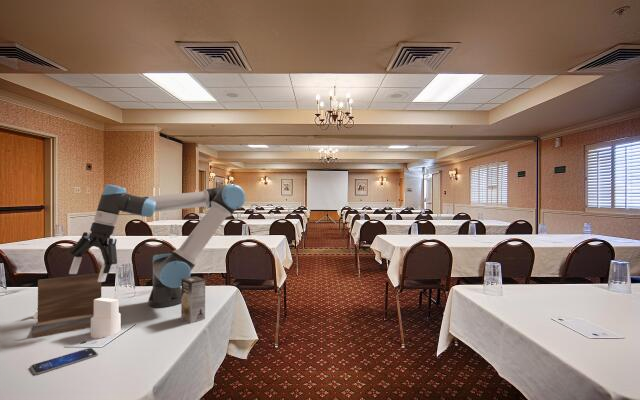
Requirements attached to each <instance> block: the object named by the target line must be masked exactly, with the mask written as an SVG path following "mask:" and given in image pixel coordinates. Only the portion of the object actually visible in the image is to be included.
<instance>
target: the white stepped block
mask: <svg viewBox="0 0 640 400" xmlns="http://www.w3.org/2000/svg"><path fill="white" fill-rule="evenodd" d="M121 317H122V314H121V313H120V312H119V299H117V298H107V297H101V298H98V299H94V317H92V318H91V327H90V337H91V338H92V337H94V338H93V339H102V338H101V337H105V338H107V337H106V336H110V337H112V336H111V335H113V336H115V335H114V334H116V333H118V332H119V331H120V330H121V329H122V328H121V327H122V326H121V325H122V323H121V319H122V318H121ZM120 332H121V331H120ZM120 332H119V333H120ZM119 333H118V334H119ZM116 335H117V334H116Z"/></svg>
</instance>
